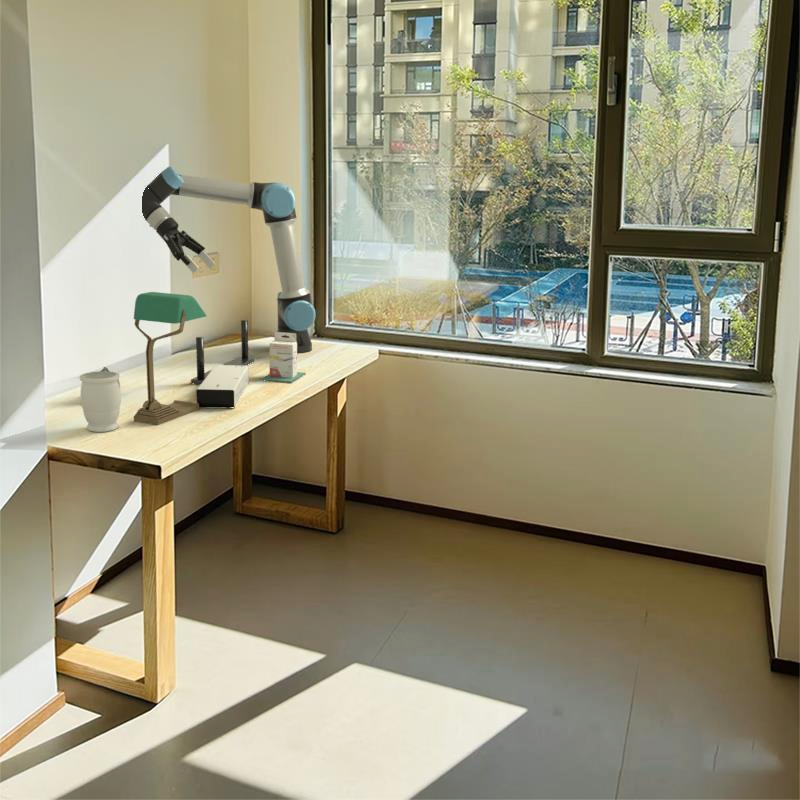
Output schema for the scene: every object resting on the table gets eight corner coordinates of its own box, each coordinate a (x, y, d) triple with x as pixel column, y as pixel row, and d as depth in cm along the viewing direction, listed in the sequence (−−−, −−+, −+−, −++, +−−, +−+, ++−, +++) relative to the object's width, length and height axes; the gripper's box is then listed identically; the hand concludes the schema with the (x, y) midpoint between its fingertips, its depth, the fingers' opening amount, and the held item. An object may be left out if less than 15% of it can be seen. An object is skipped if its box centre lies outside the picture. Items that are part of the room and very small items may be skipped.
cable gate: (238, 360, 341) (238, 319, 338) (254, 362, 340) (253, 320, 336) (191, 383, 305) (189, 337, 302) (207, 385, 304) (206, 338, 300)
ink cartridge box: (268, 376, 316) (268, 334, 312) (273, 373, 321) (273, 331, 317) (292, 378, 314) (292, 335, 310) (297, 375, 319) (297, 333, 315)
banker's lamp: (123, 419, 263) (116, 296, 254) (168, 403, 281) (164, 288, 272) (169, 426, 257) (164, 301, 248) (212, 409, 275) (209, 292, 266)
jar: (89, 422, 259) (86, 370, 255) (126, 423, 259) (124, 371, 255) (77, 433, 248) (73, 379, 245) (116, 434, 249) (113, 380, 245)
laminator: (234, 410, 277) (234, 390, 275) (193, 409, 276) (192, 389, 275) (249, 383, 310) (248, 365, 308) (212, 382, 309) (211, 364, 308)
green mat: (276, 371, 325) (276, 370, 325) (305, 374, 323) (305, 372, 323) (260, 380, 312) (260, 378, 312) (291, 383, 310) (291, 381, 310)
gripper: (173, 228, 337) (212, 271, 338) (139, 233, 314) (182, 280, 314) (185, 214, 335) (225, 257, 335) (153, 218, 311) (196, 265, 312)
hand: (204, 268), depth 325 cm, fingers open, 13 cm apart
